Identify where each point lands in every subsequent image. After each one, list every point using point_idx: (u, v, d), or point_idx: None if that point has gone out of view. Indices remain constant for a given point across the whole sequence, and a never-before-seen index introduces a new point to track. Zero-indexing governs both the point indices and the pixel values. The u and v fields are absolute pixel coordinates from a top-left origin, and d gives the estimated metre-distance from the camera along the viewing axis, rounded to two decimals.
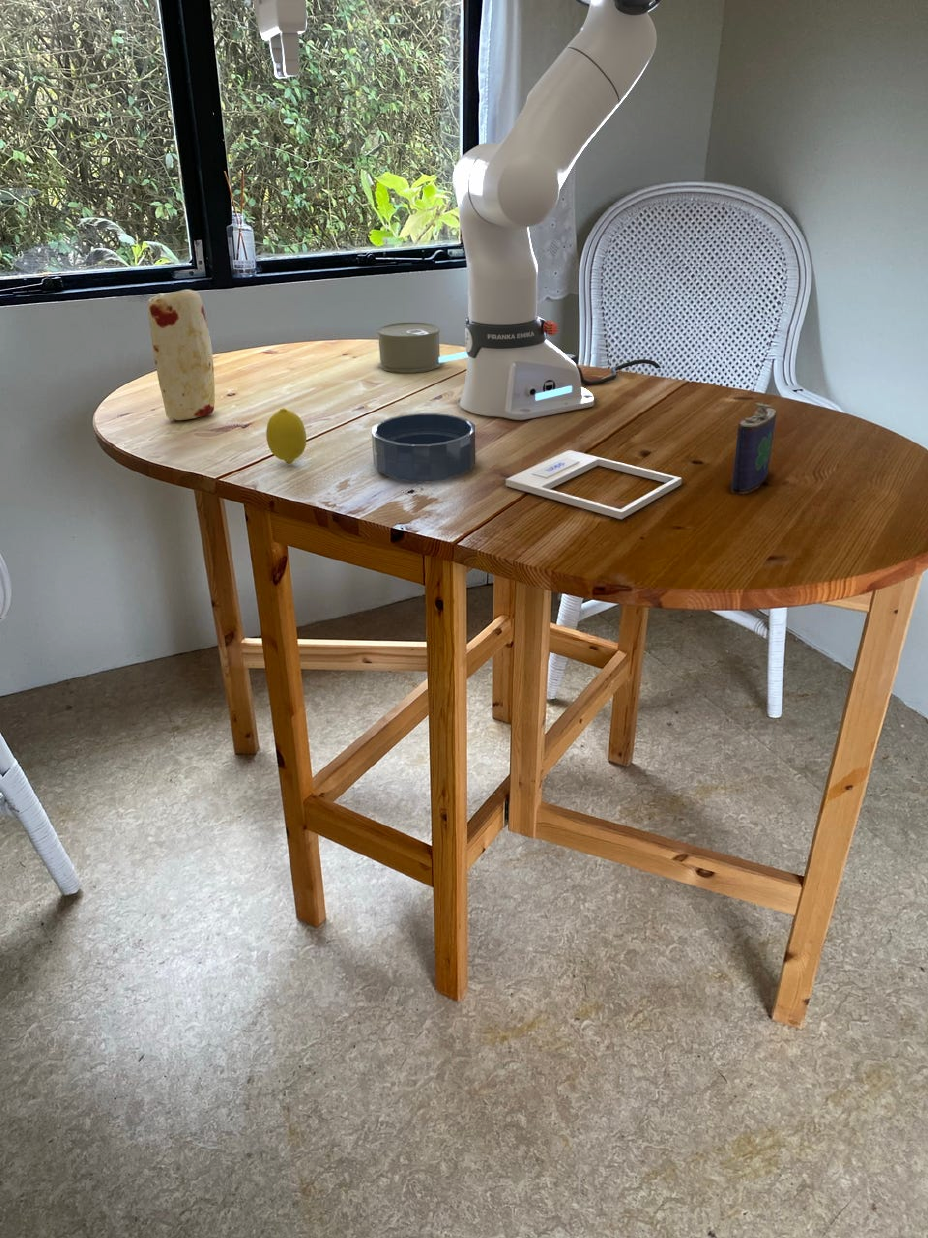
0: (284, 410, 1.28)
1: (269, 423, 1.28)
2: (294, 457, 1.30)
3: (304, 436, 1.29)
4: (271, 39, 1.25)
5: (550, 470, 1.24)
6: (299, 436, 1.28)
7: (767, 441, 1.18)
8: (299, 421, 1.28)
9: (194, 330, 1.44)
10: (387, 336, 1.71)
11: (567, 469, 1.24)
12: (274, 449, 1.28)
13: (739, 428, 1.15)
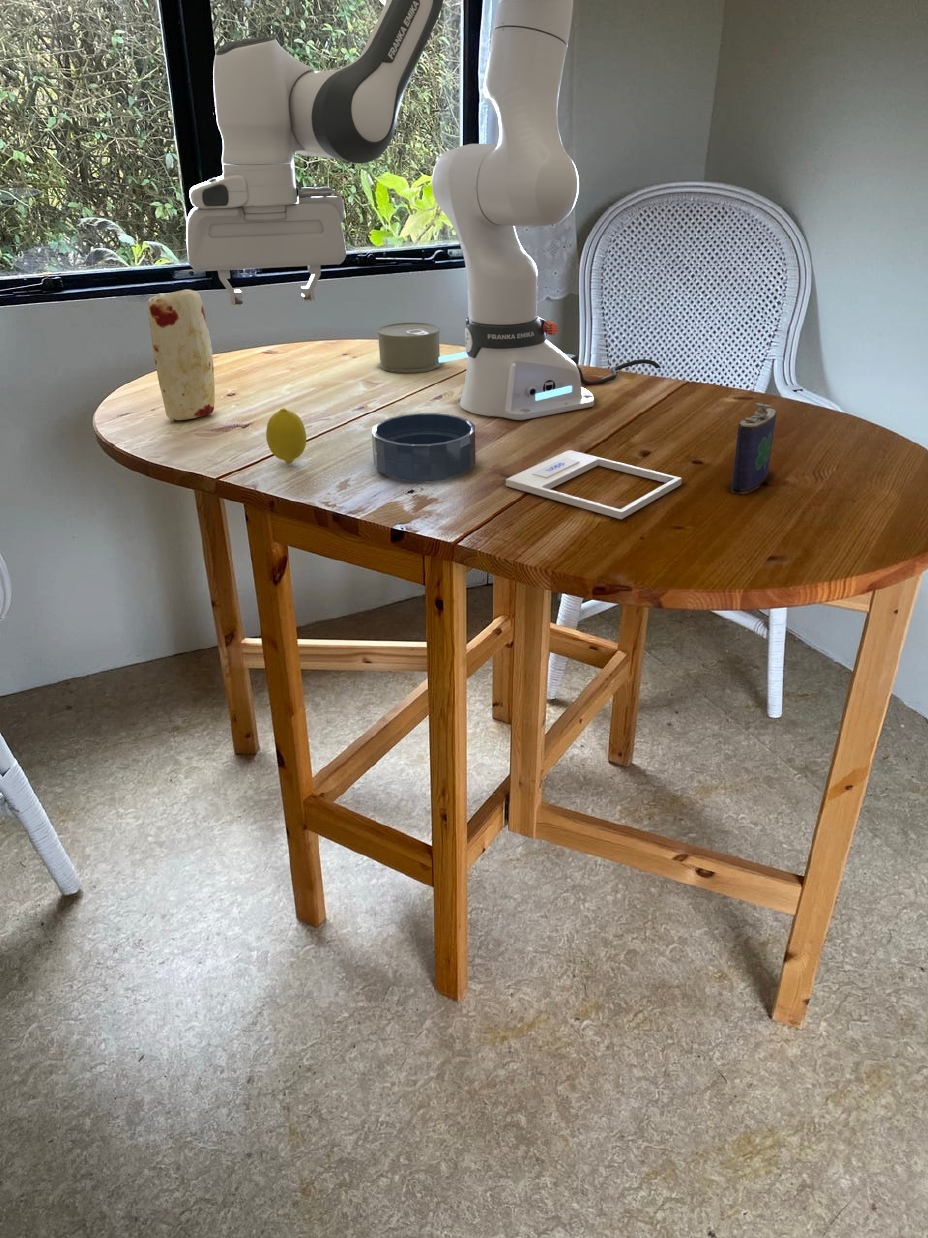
0: (284, 410, 1.28)
1: (269, 423, 1.28)
2: (294, 457, 1.30)
3: (304, 436, 1.29)
4: (229, 270, 1.18)
5: (550, 470, 1.24)
6: (299, 436, 1.28)
7: (767, 441, 1.18)
8: (299, 421, 1.28)
9: (194, 330, 1.44)
10: (387, 336, 1.71)
11: (567, 469, 1.24)
12: (274, 449, 1.28)
13: (739, 428, 1.15)
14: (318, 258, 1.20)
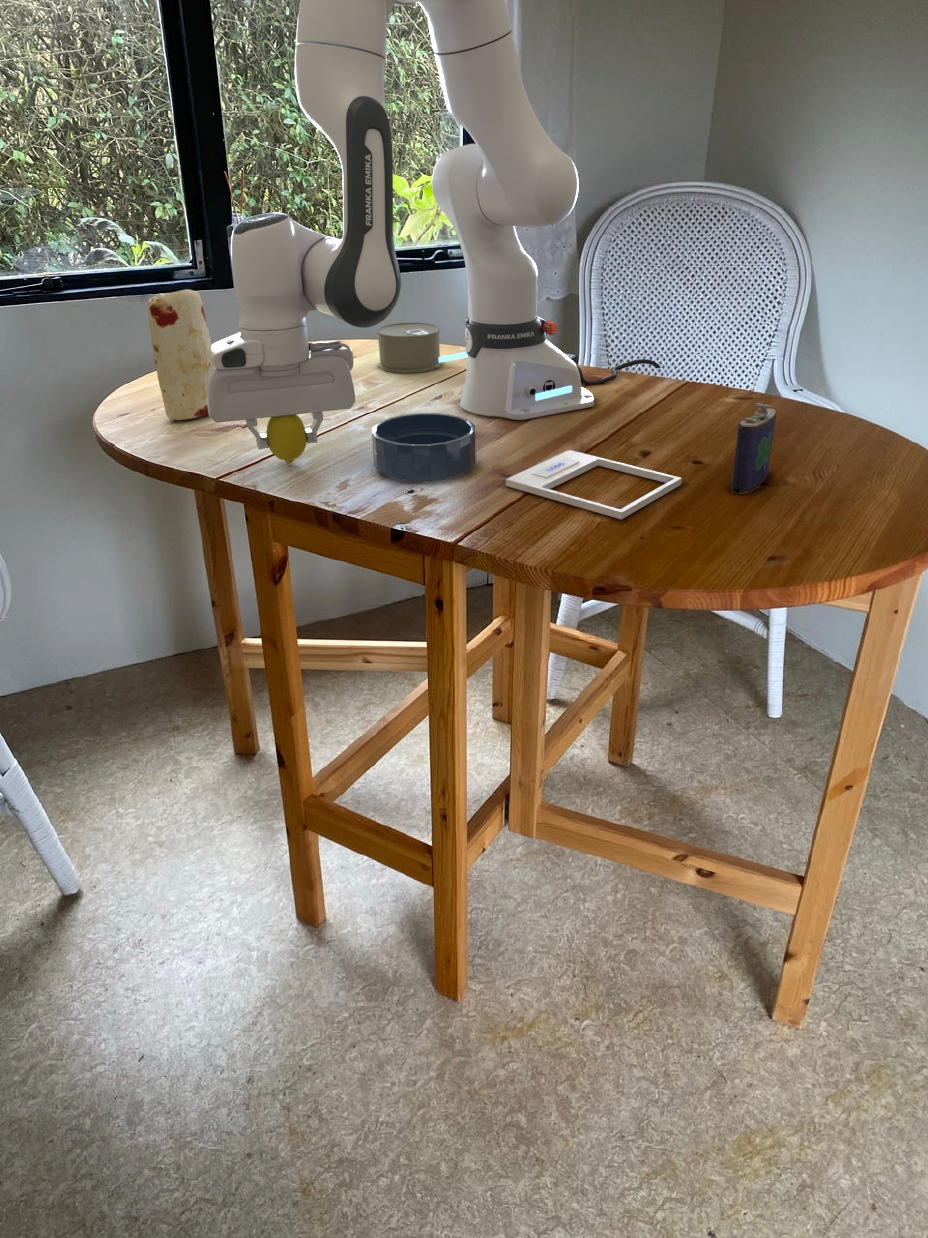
0: None
1: (269, 423, 1.28)
2: (294, 457, 1.30)
3: (304, 436, 1.29)
4: (246, 419, 1.26)
5: (550, 470, 1.24)
6: (299, 436, 1.28)
7: (767, 441, 1.18)
8: (299, 421, 1.28)
9: (194, 329, 1.44)
10: (387, 336, 1.71)
11: (567, 469, 1.24)
12: (274, 449, 1.28)
13: (739, 428, 1.15)
14: (329, 405, 1.28)
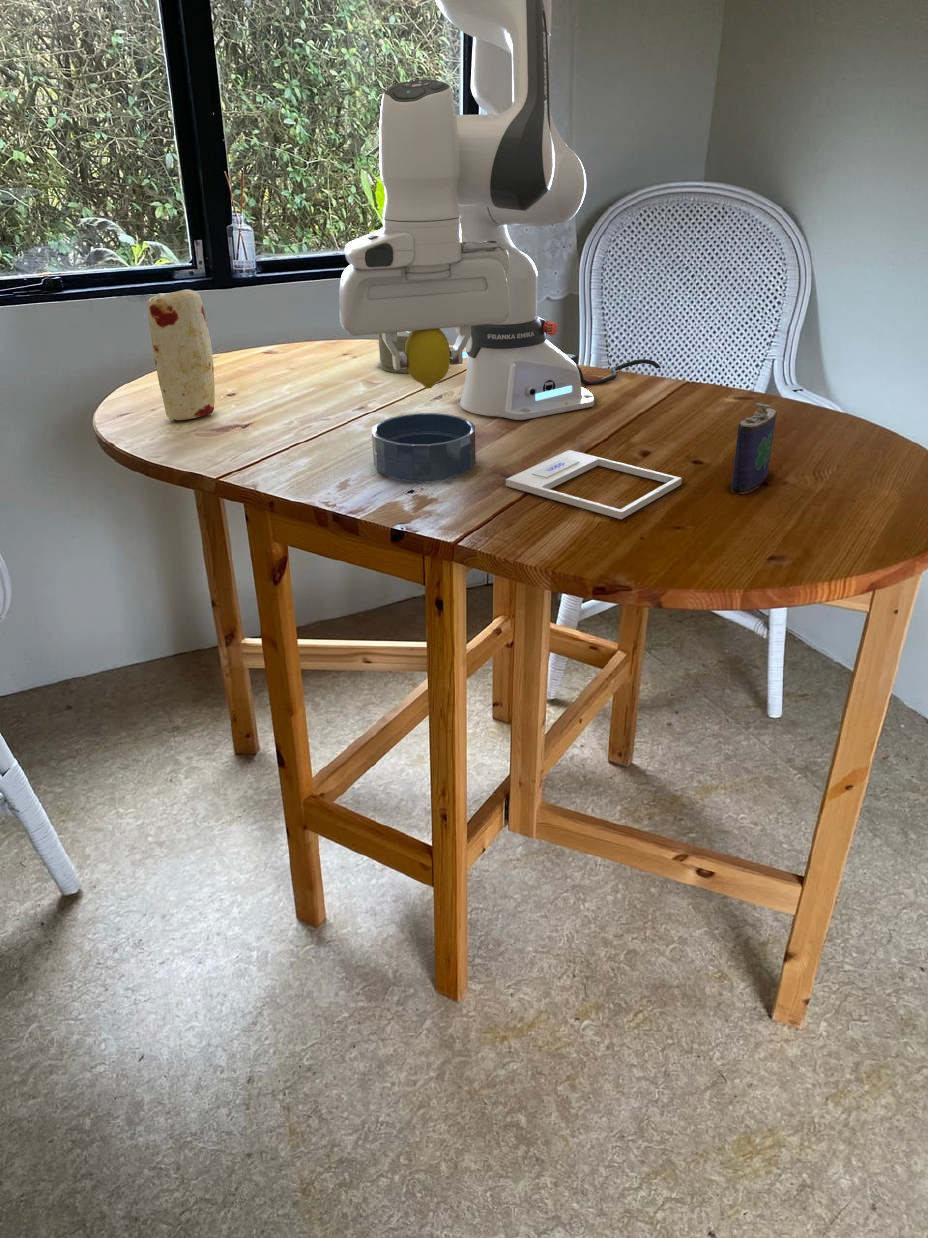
0: None
1: (410, 339, 1.09)
2: (436, 380, 1.11)
3: (449, 355, 1.11)
4: (385, 333, 1.08)
5: (550, 470, 1.24)
6: (444, 354, 1.09)
7: (767, 441, 1.18)
8: (444, 337, 1.10)
9: (194, 330, 1.44)
10: None
11: (567, 469, 1.24)
12: (415, 370, 1.10)
13: (739, 428, 1.15)
14: (480, 318, 1.09)
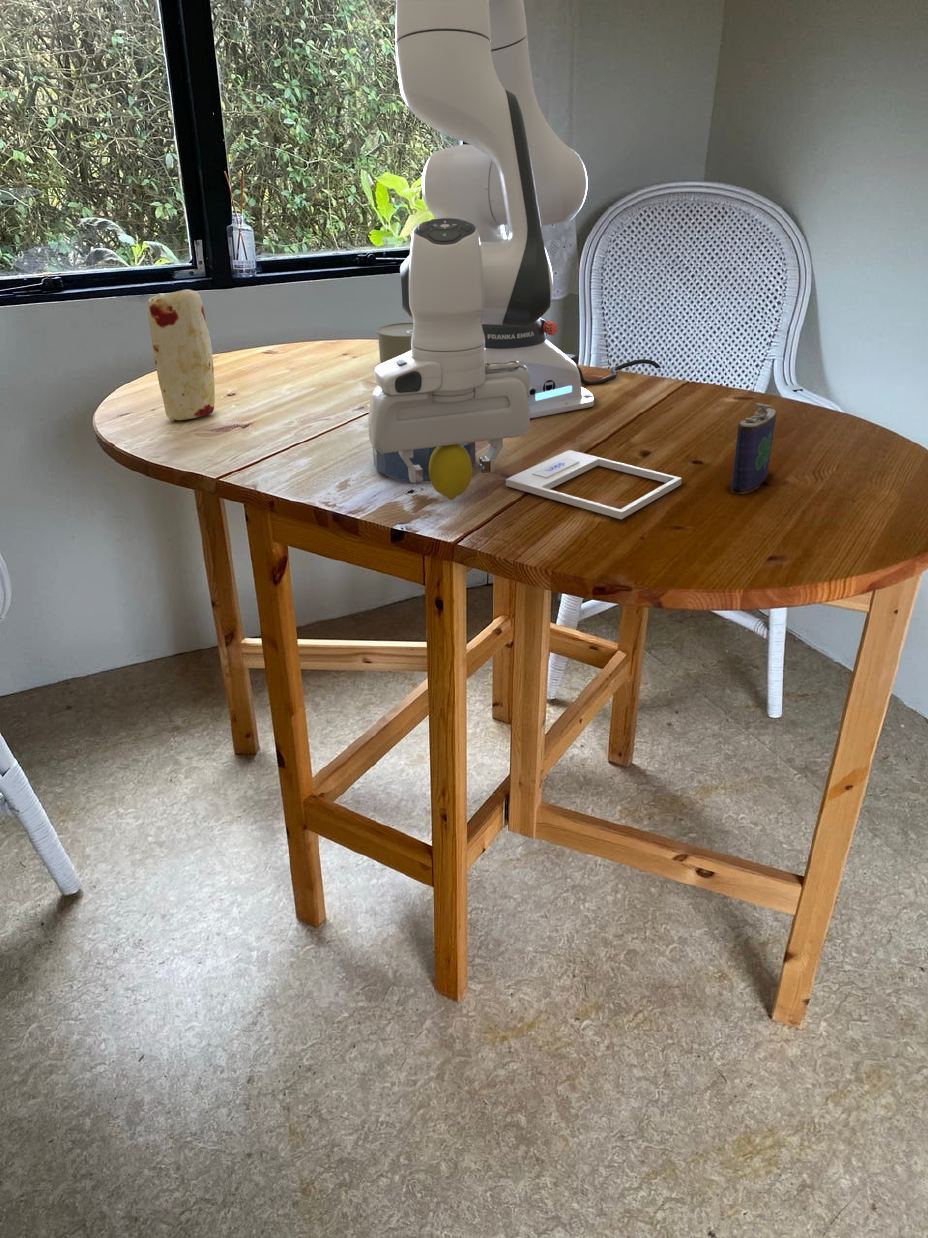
0: None
1: (434, 456, 1.15)
2: (459, 493, 1.17)
3: (471, 470, 1.16)
4: None
5: (550, 470, 1.24)
6: (467, 470, 1.15)
7: (767, 441, 1.18)
8: (467, 454, 1.15)
9: (194, 330, 1.44)
10: (387, 336, 1.71)
11: (567, 469, 1.24)
12: (438, 485, 1.15)
13: (739, 428, 1.15)
14: (502, 433, 1.15)
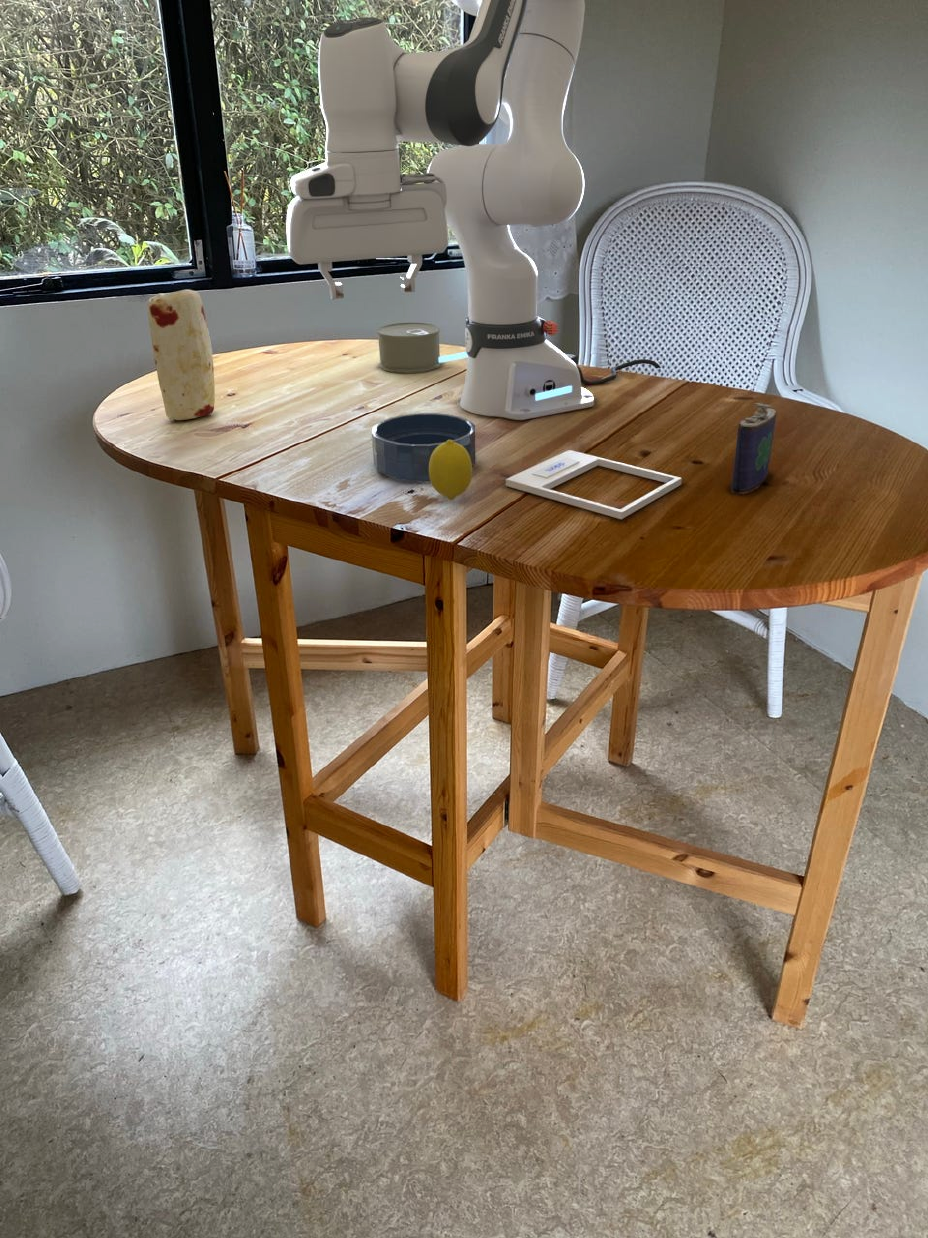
0: (451, 442, 1.15)
1: (434, 456, 1.15)
2: (459, 493, 1.17)
3: (471, 470, 1.16)
4: (331, 262, 1.14)
5: (550, 470, 1.24)
6: (467, 470, 1.15)
7: (767, 441, 1.18)
8: (467, 454, 1.15)
9: (194, 330, 1.44)
10: (387, 336, 1.71)
11: (567, 469, 1.24)
12: (438, 485, 1.15)
13: (739, 428, 1.15)
14: (421, 247, 1.16)
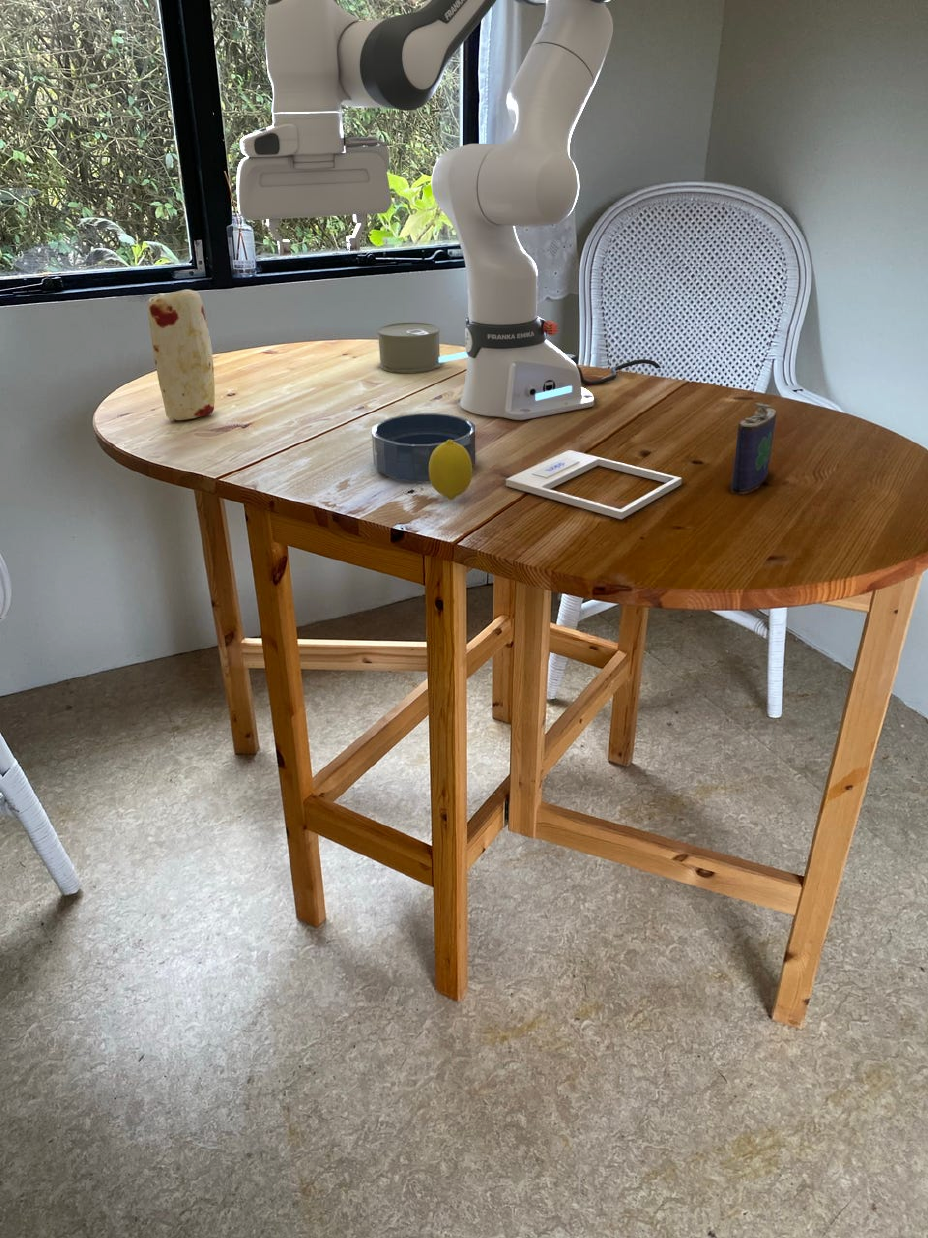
0: (451, 442, 1.15)
1: (434, 456, 1.15)
2: (459, 493, 1.17)
3: (471, 470, 1.16)
4: (278, 219, 1.21)
5: (550, 470, 1.24)
6: (467, 470, 1.15)
7: (767, 441, 1.18)
8: (467, 454, 1.15)
9: (194, 330, 1.44)
10: (387, 336, 1.71)
11: (567, 469, 1.24)
12: (438, 485, 1.15)
13: (739, 428, 1.15)
14: (364, 207, 1.23)
